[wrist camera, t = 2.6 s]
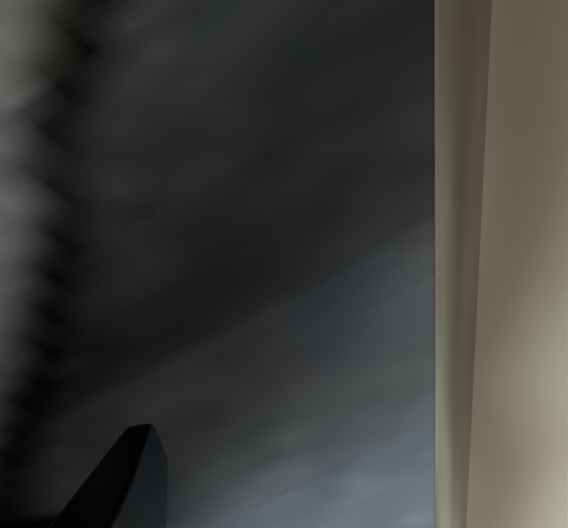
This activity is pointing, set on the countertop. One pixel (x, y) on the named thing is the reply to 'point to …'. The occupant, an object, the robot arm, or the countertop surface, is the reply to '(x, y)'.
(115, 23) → the countertop surface
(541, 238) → the board
